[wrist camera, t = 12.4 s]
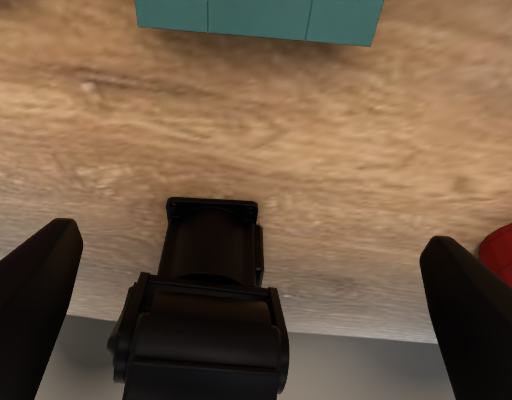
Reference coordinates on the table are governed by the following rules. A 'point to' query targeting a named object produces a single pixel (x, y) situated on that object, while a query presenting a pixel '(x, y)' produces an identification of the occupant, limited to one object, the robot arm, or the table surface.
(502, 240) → the plastic cup
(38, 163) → the table surface
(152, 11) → the block
